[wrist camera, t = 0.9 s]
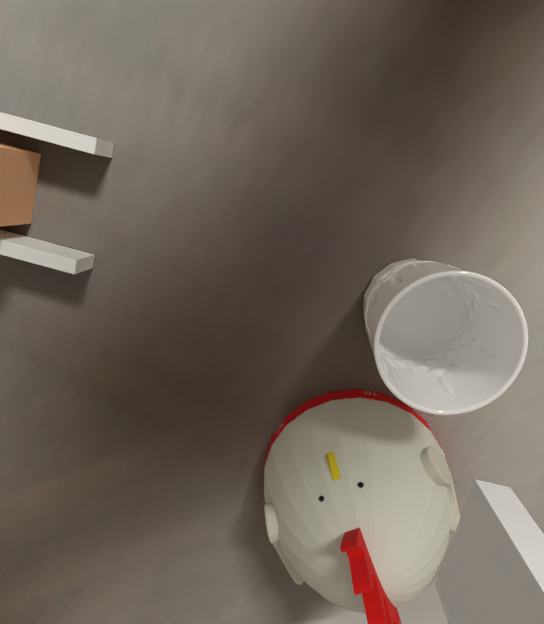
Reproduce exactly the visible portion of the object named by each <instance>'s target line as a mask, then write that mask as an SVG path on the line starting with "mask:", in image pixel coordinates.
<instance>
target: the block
mask: <svg viewBox="0 0 544 624" xmlns="http://www.w3.org/2000/svg"><path fill="white" fill-rule="evenodd" d="M40 157H41V154H40V153H36V152H33V151H29V150H25V149H21V148H18V147H14V146H10V145H7V144H3V143H0V227H2V226H12V225H22V224H31V221H32V214H33V207H34V200H35V193H36V186H37V179H38V171H39V164H40Z"/></svg>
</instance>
